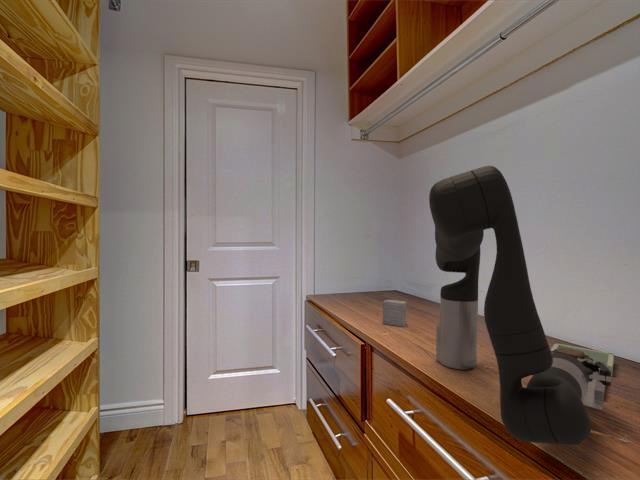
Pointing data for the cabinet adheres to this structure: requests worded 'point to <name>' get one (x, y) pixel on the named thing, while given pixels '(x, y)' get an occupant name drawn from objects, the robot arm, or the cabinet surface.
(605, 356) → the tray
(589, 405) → the slot board
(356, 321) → the cabinet surface
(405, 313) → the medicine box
